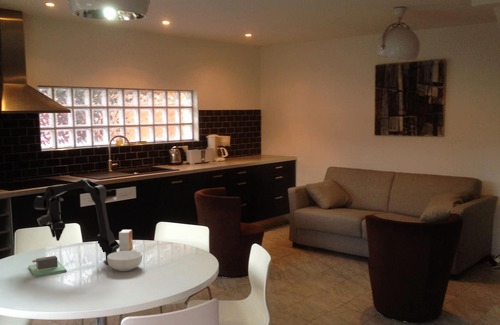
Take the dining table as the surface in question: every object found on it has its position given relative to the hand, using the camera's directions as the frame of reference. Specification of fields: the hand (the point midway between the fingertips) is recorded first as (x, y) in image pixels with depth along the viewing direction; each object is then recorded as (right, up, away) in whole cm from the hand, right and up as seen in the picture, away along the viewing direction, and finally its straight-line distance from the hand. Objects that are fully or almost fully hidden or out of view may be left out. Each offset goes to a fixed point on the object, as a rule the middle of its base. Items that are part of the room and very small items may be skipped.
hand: (55, 238), depth 259 cm
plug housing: (+2, -11, -17) cm, 20 cm away
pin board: (+2, -13, -17) cm, 21 cm away
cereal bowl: (+41, -12, -16) cm, 46 cm away
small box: (+32, -9, +20) cm, 39 cm away
